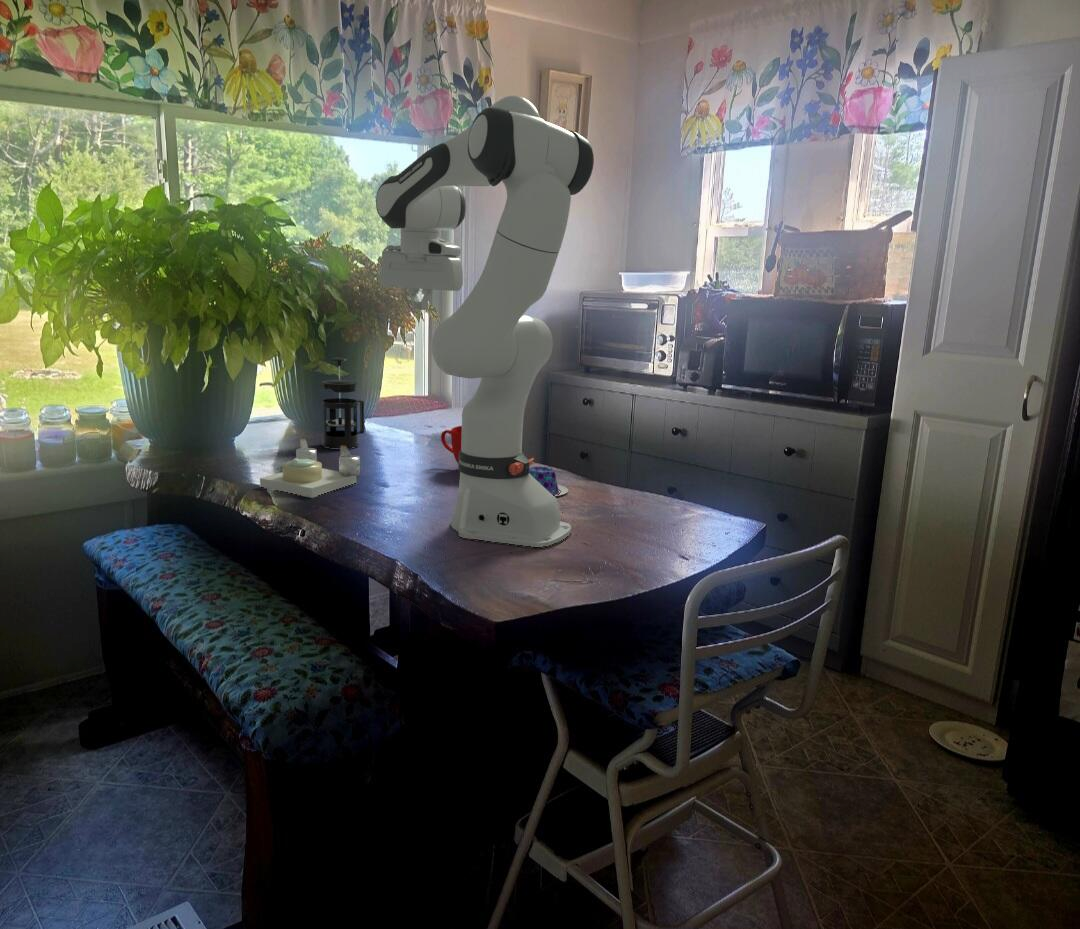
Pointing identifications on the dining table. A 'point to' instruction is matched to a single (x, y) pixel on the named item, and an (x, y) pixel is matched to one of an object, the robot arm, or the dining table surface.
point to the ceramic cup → (453, 440)
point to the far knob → (306, 451)
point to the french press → (340, 436)
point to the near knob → (348, 463)
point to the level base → (309, 487)
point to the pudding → (547, 479)
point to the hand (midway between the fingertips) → (420, 309)
